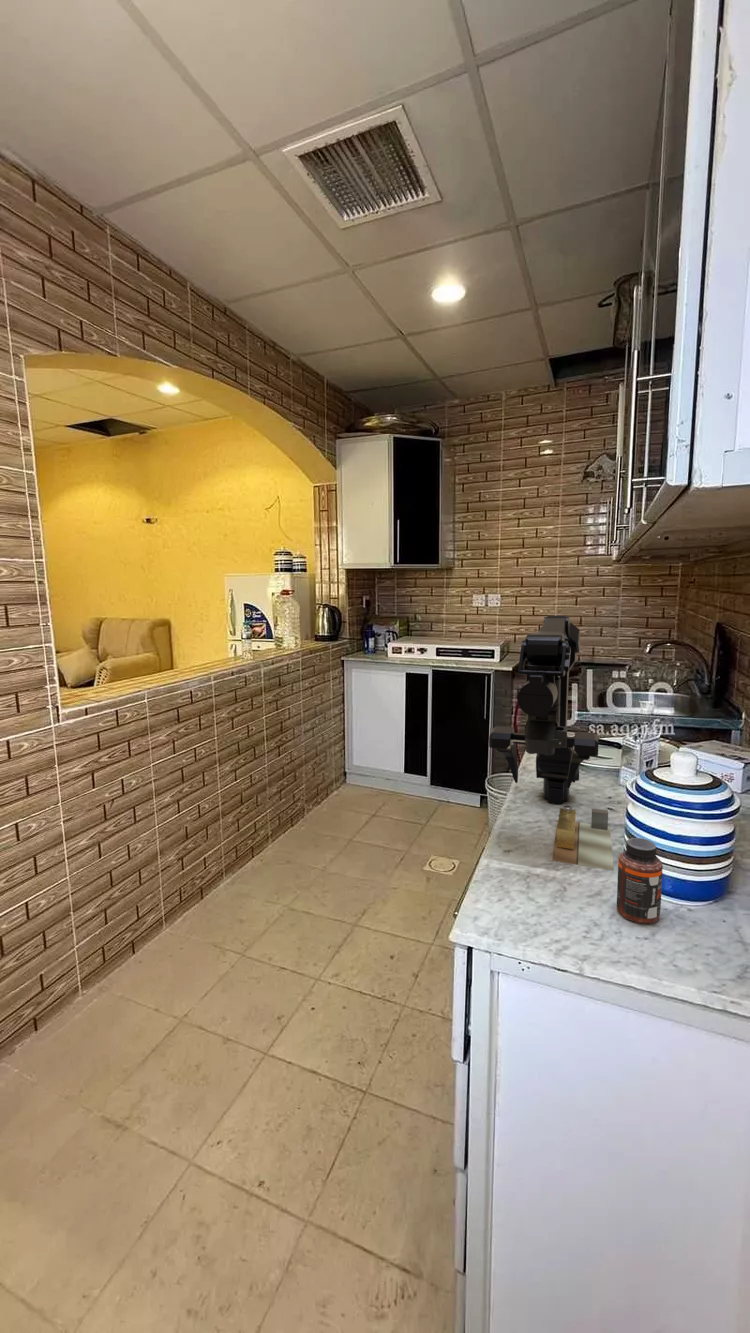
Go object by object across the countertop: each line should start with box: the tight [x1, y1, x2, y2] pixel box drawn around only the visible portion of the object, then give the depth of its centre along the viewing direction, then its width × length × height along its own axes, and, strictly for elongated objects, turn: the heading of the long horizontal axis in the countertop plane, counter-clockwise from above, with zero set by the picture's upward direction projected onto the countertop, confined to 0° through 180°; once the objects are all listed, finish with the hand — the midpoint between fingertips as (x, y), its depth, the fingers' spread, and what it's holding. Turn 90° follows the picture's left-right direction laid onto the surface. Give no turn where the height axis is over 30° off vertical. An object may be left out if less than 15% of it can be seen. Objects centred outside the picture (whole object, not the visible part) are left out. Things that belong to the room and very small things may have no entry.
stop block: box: [590, 808, 609, 830], centre depth 106 cm, size 2×3×4 cm, turn 68°
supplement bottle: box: [616, 837, 663, 924], centre depth 79 cm, size 6×6×11 cm
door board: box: [552, 821, 614, 871], centre depth 100 cm, size 18×10×1 cm, turn 158°
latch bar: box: [556, 805, 577, 849], centre depth 102 cm, size 10×3×4 cm, turn 158°
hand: (541, 784), depth 98 cm, fingers open, 9 cm apart
